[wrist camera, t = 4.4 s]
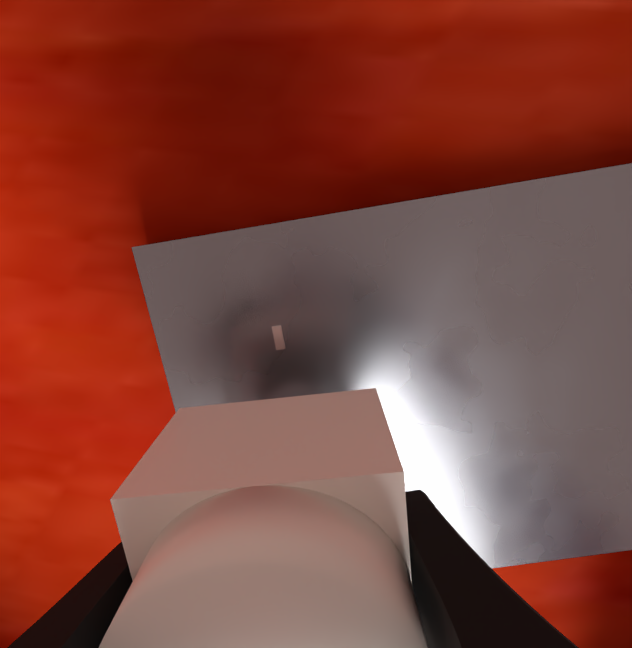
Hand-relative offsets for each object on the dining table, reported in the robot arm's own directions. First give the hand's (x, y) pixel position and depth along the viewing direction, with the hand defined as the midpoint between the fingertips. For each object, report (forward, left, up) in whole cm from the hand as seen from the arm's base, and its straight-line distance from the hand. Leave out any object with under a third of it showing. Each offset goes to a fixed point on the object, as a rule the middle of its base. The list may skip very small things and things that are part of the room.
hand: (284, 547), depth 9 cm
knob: (0, 0, -2) cm, 2 cm away
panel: (0, -5, -6) cm, 8 cm away
